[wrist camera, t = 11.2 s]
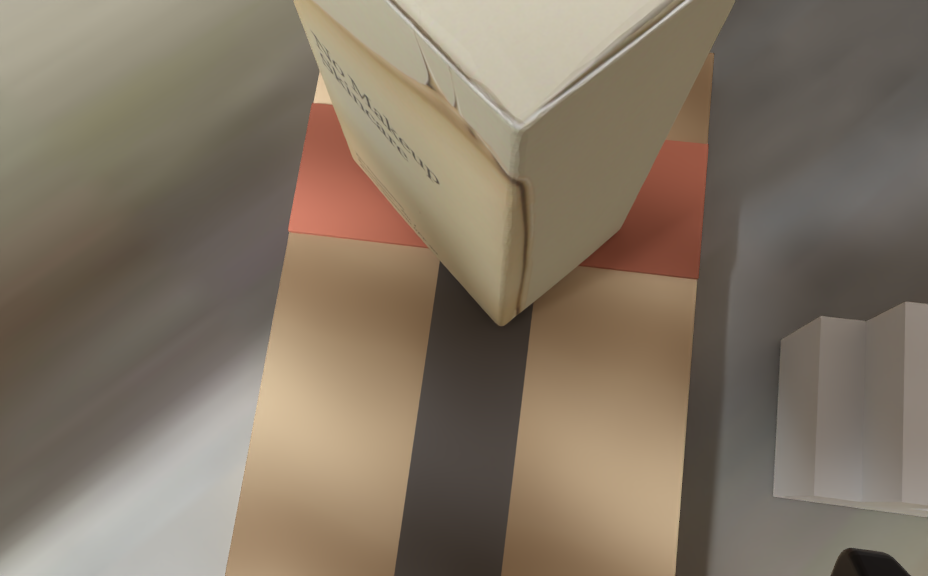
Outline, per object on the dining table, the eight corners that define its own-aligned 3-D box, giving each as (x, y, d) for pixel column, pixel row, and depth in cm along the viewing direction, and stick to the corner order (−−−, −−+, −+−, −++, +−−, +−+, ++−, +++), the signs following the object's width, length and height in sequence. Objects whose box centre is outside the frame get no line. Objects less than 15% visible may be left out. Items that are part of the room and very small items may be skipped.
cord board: (654, 727, 21) (663, 743, 19) (223, 660, 22) (205, 670, 20) (704, 74, 25) (715, 50, 23) (338, 38, 25) (329, 12, 24)
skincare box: (349, 159, 23) (186, -199, 11) (478, 57, 24) (451, -387, 12) (506, 338, 22) (507, 145, 10) (639, 226, 22) (788, -85, 10)
